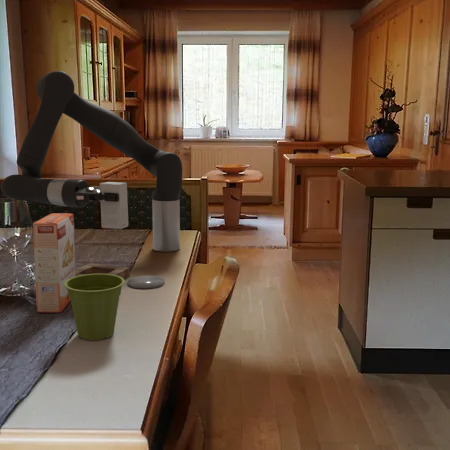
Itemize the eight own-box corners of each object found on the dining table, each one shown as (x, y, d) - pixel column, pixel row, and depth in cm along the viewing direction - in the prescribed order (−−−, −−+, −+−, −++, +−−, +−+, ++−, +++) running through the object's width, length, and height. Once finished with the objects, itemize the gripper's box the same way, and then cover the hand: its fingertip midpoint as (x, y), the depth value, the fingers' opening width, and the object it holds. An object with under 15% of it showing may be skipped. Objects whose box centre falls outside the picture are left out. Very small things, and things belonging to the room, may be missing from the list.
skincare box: (128, 226, 142) (127, 182, 140) (120, 229, 138) (119, 184, 136) (109, 224, 144) (107, 181, 142) (100, 227, 140) (99, 183, 138)
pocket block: (90, 271, 153) (90, 263, 153) (129, 275, 149) (129, 267, 148) (62, 283, 141) (62, 275, 141) (105, 289, 137) (104, 280, 136)
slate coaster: (138, 276, 149) (138, 274, 148) (170, 280, 145) (170, 277, 145) (120, 286, 139) (120, 284, 139) (154, 290, 136) (154, 288, 136)
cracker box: (62, 313, 119) (58, 222, 115) (35, 313, 119) (30, 222, 115) (78, 294, 133) (74, 212, 129) (54, 294, 133) (49, 212, 129)
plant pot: (70, 350, 100) (68, 293, 98) (63, 328, 111) (60, 276, 108) (132, 340, 105) (130, 286, 102) (119, 320, 115) (117, 270, 113)
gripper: (51, 181, 137) (108, 185, 131) (83, 176, 150) (136, 179, 144) (52, 210, 138) (109, 214, 133) (84, 202, 152) (137, 206, 146)
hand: (123, 196), depth 139 cm, fingers closed on skincare box, 4 cm apart
